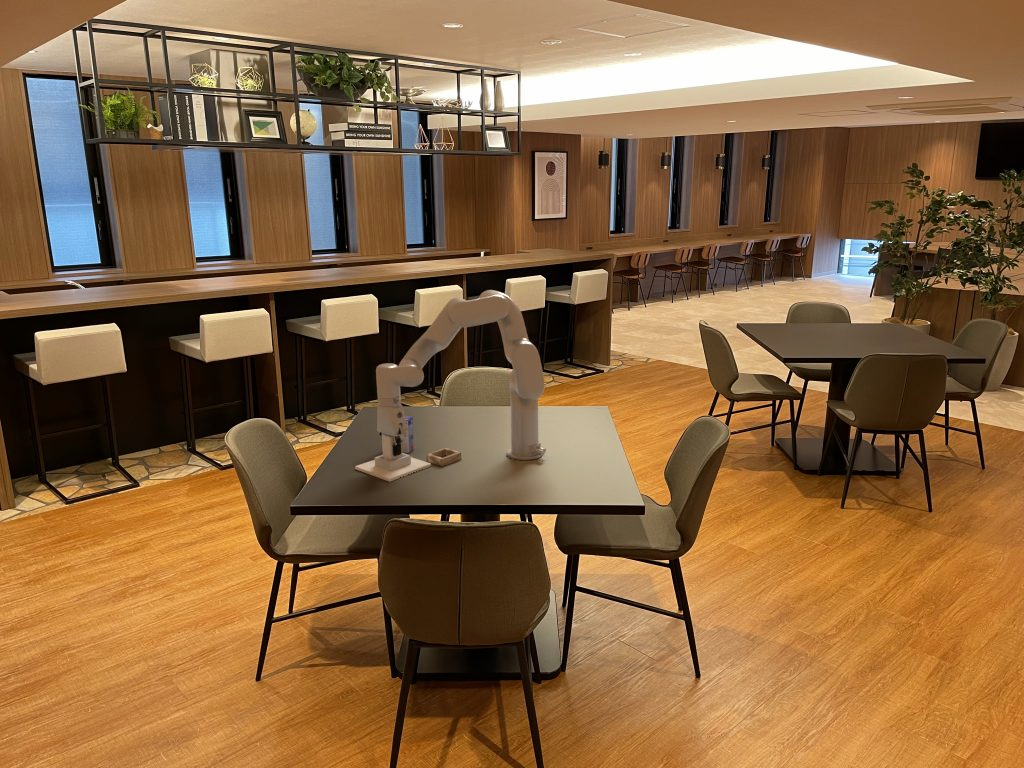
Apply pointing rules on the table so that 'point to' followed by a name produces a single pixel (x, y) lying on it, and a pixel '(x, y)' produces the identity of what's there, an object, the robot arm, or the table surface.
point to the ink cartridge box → (408, 436)
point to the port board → (392, 467)
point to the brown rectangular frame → (450, 457)
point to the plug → (389, 447)
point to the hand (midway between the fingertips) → (392, 452)
